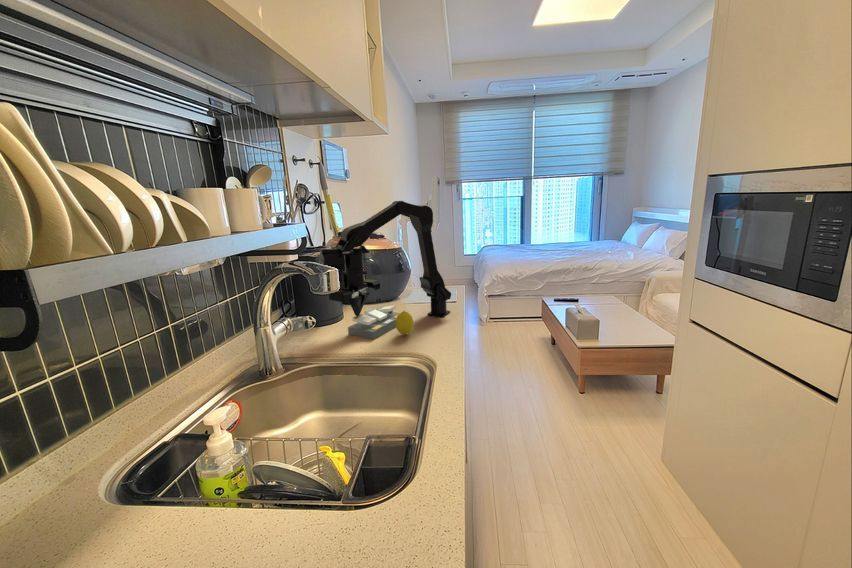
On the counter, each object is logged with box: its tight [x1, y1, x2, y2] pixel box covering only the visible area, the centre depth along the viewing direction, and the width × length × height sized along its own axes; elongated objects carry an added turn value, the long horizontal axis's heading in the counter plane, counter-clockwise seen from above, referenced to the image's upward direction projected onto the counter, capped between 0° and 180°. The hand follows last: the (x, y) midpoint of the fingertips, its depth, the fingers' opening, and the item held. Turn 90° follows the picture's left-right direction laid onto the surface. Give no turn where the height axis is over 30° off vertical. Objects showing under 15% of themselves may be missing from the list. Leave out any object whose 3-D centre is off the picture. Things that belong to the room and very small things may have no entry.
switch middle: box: [363, 307, 387, 321], centre depth 121 cm, size 4×6×1 cm, turn 61°
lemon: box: [395, 310, 414, 336], centre depth 113 cm, size 6×6×8 cm
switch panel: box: [347, 310, 401, 340], centre depth 121 cm, size 19×10×4 cm, turn 151°
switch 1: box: [352, 313, 376, 325], centre depth 116 cm, size 4×6×1 cm, turn 61°
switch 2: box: [375, 305, 397, 312], centre depth 126 cm, size 4×6×1 cm, turn 61°
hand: (357, 315), depth 117 cm, fingers closed
